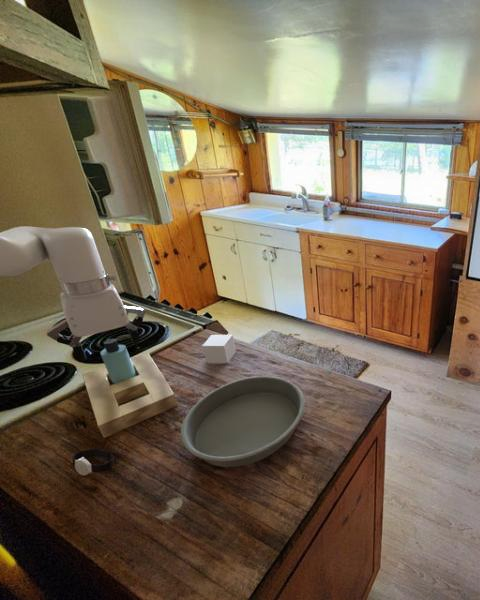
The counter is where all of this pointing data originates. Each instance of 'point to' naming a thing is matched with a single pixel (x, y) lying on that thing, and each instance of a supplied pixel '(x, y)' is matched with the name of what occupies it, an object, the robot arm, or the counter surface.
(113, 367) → the bottle
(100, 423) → the hole block
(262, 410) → the cake pan
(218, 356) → the white cube
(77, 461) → the watch
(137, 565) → the counter surface
